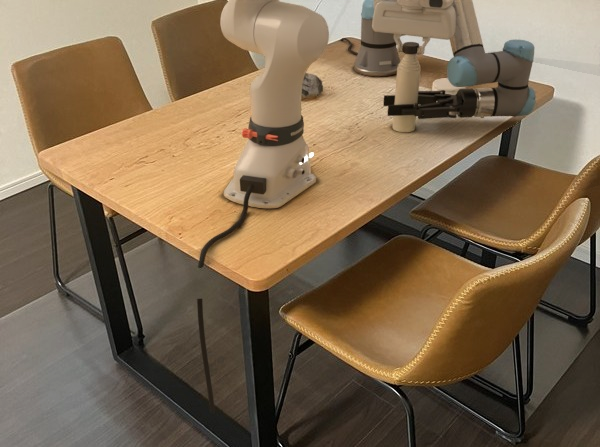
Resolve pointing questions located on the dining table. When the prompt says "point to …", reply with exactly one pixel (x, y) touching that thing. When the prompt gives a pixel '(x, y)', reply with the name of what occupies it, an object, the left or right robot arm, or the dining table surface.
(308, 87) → the rock
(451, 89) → the cream round flat disc
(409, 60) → the bottle
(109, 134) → the dining table surface
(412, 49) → the cap
